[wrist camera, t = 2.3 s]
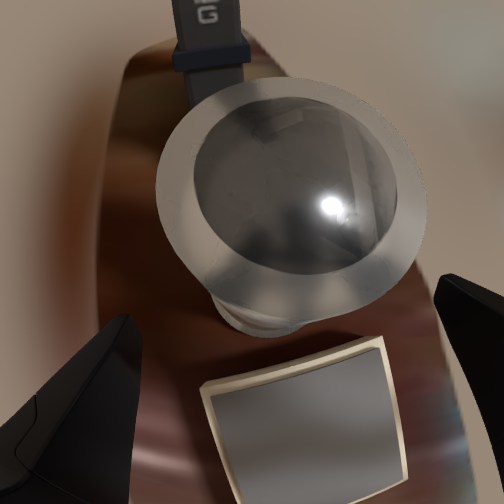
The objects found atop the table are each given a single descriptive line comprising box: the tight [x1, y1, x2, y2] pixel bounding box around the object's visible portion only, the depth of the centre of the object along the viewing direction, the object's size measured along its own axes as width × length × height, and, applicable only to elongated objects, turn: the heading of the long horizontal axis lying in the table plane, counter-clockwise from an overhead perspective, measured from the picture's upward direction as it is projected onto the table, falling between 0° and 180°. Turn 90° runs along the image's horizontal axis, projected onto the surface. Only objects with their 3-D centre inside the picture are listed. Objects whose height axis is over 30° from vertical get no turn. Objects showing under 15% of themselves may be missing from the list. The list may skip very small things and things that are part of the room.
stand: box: [199, 336, 408, 504], centre depth 14 cm, size 10×10×3 cm
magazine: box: [172, 0, 251, 111], centre depth 16 cm, size 4×13×15 cm, turn 9°
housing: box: [156, 77, 427, 338], centre depth 12 cm, size 7×7×12 cm
